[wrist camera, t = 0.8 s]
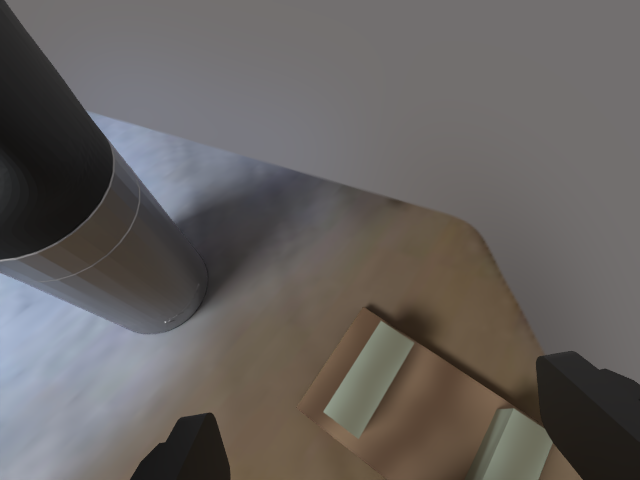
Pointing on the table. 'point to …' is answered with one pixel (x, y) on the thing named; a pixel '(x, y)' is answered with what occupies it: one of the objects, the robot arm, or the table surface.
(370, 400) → the endcap cradle
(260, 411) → the table surface
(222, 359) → the table surface
